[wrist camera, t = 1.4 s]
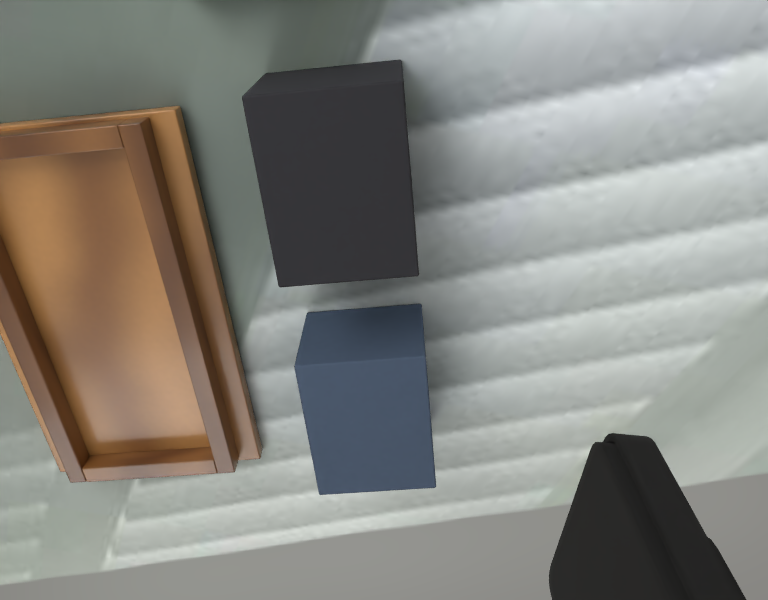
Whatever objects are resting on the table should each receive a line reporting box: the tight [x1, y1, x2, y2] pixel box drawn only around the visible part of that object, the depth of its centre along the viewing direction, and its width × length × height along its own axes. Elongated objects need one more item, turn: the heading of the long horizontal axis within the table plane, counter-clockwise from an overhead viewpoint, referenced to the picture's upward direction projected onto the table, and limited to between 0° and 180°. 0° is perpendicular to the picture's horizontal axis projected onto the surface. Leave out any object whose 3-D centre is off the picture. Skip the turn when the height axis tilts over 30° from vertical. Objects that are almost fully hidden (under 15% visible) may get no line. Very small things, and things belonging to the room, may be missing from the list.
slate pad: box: [294, 304, 436, 495], centre depth 34 cm, size 6×8×5 cm
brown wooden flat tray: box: [0, 106, 262, 483], centre depth 34 cm, size 12×20×2 cm, turn 6°
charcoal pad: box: [242, 60, 419, 287], centre depth 28 cm, size 6×8×5 cm
